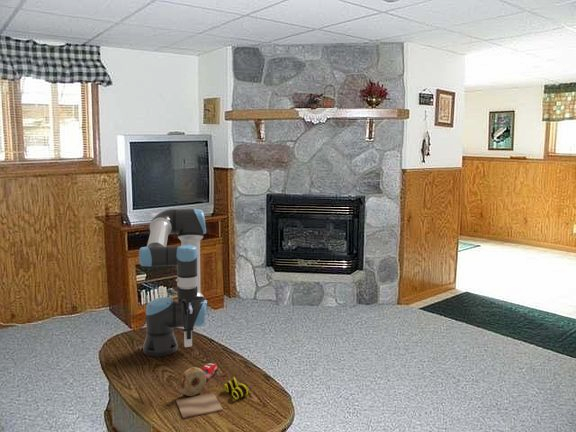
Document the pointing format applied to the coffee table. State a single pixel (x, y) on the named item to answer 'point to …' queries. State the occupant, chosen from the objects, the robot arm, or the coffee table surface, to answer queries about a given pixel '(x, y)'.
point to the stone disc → (187, 378)
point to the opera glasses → (236, 389)
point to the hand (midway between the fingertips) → (188, 345)
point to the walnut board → (198, 405)
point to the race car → (209, 370)
